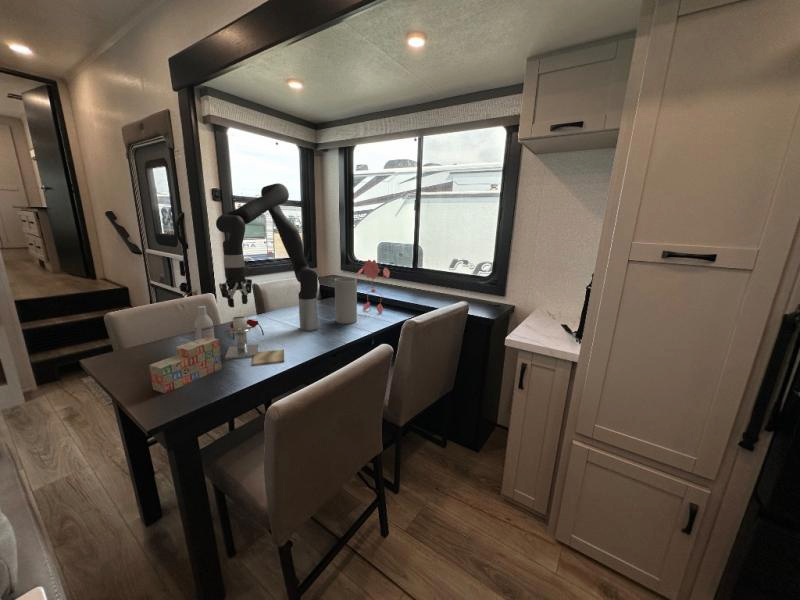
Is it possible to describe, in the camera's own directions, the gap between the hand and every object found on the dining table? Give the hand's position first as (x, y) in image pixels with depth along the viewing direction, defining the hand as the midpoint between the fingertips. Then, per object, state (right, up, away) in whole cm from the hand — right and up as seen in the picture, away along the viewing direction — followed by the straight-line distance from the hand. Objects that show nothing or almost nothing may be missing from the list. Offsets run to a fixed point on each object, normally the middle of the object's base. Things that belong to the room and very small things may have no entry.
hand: (238, 305), depth 133 cm
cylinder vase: (+36, -10, +54) cm, 66 cm away
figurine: (+49, -7, +71) cm, 87 cm away
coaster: (+13, -22, +1) cm, 26 cm away
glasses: (-11, -15, +30) cm, 36 cm away
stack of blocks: (-8, -27, -18) cm, 33 cm away
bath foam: (-17, -20, +6) cm, 27 cm away
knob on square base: (-1, -21, +5) cm, 22 cm away
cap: (0, -10, +3) cm, 11 cm away
